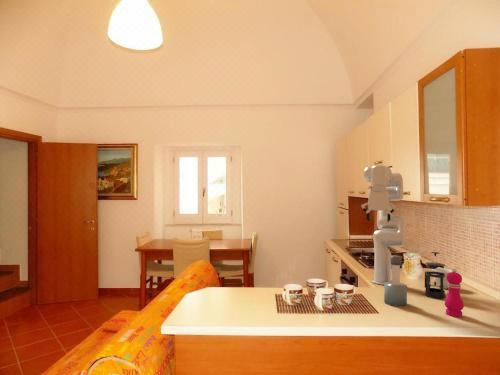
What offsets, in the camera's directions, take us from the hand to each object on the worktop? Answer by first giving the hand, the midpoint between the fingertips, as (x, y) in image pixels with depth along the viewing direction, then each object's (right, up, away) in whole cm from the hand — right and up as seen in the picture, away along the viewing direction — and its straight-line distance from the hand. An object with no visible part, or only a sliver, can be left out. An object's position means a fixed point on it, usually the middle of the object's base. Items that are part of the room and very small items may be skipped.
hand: (378, 221), depth 180 cm
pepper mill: (+22, -38, -30) cm, 53 cm away
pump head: (+3, -28, -14) cm, 31 cm away
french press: (+29, -39, -1) cm, 49 cm away
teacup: (+45, -40, +20) cm, 64 cm away
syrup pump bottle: (+2, -38, -15) cm, 41 cm away
